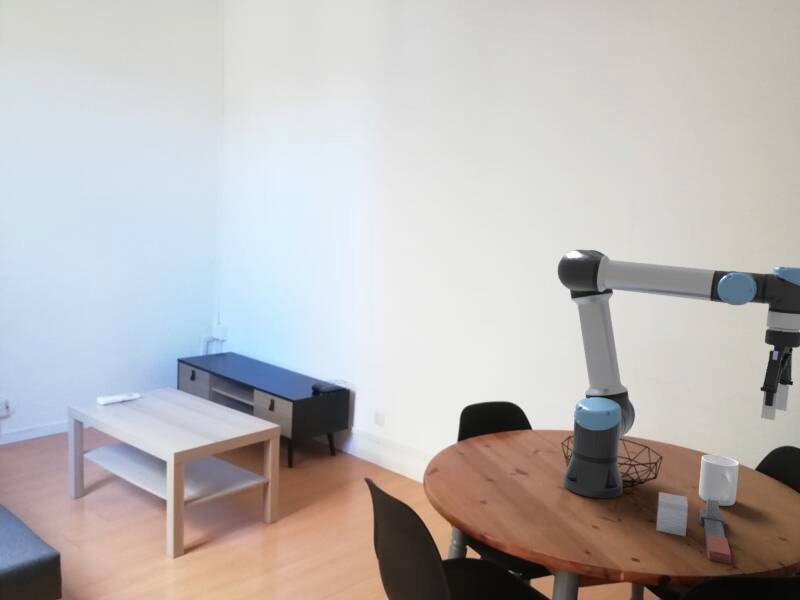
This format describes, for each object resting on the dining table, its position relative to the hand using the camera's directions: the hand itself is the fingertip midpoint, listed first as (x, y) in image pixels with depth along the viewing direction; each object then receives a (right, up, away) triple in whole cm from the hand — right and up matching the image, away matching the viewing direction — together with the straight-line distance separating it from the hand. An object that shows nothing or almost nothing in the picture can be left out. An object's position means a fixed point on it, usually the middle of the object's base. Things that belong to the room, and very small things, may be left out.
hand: (773, 414), depth 153 cm
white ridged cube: (-31, -24, -11) cm, 40 cm away
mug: (-11, -24, +6) cm, 27 cm away
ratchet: (-23, -25, -15) cm, 37 cm away
